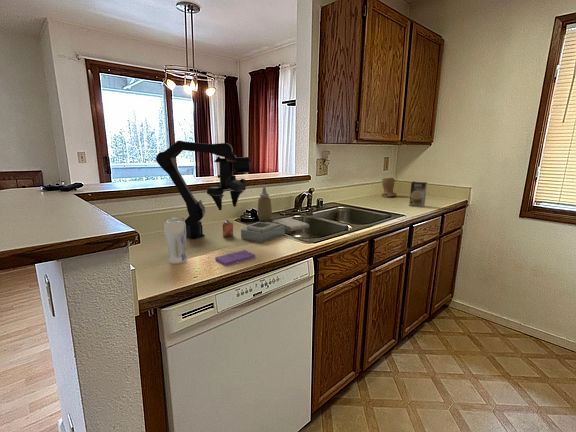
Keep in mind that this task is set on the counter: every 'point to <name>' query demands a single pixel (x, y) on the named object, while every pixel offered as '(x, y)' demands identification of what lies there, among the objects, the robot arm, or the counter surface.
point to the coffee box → (418, 194)
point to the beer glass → (175, 239)
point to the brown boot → (388, 187)
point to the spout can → (227, 229)
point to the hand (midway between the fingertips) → (227, 208)
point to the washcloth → (291, 224)
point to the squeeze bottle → (264, 206)
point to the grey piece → (262, 231)
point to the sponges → (235, 257)
